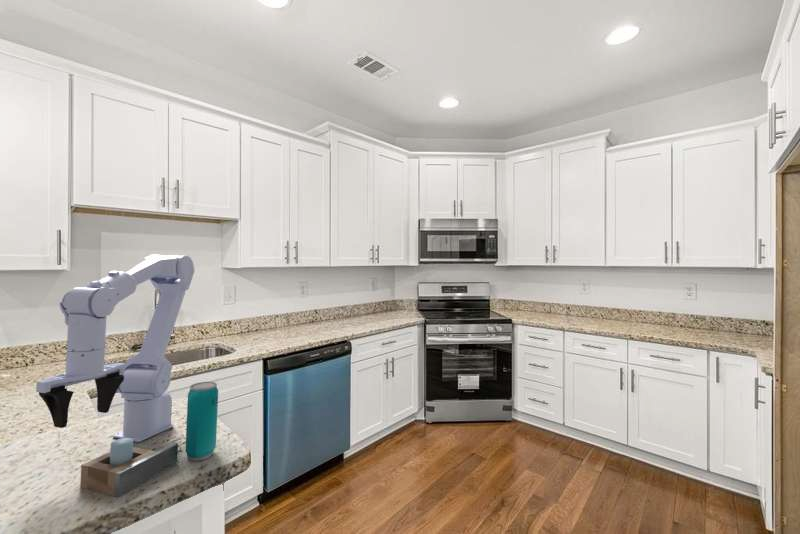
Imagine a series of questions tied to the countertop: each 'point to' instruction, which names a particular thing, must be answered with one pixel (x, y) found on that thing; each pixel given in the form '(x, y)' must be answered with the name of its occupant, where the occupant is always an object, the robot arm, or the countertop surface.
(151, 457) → the wall
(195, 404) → the beverage can
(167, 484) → the countertop surface
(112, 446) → the dowel
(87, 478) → the block
